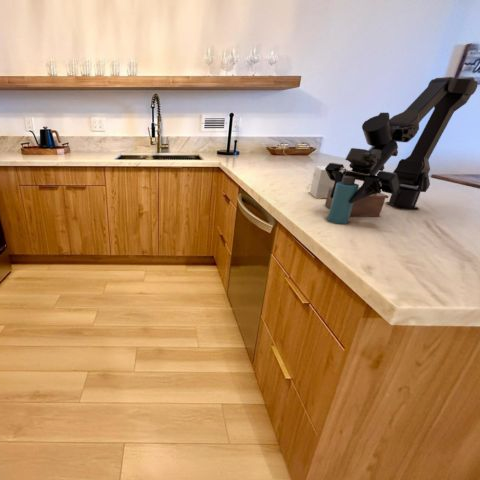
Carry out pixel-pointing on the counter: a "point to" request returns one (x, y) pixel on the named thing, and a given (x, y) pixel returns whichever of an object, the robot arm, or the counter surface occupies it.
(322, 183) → the small box
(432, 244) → the counter surface
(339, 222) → the detergent bottle
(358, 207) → the chest
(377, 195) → the chest lid
